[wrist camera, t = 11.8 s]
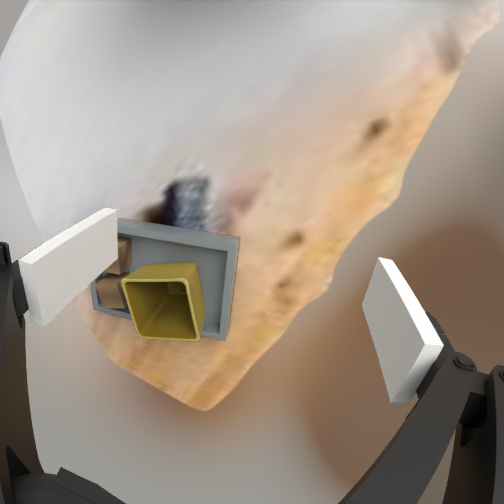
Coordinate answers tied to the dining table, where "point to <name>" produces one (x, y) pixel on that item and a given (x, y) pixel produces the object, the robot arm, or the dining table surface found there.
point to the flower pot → (166, 301)
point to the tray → (184, 250)
